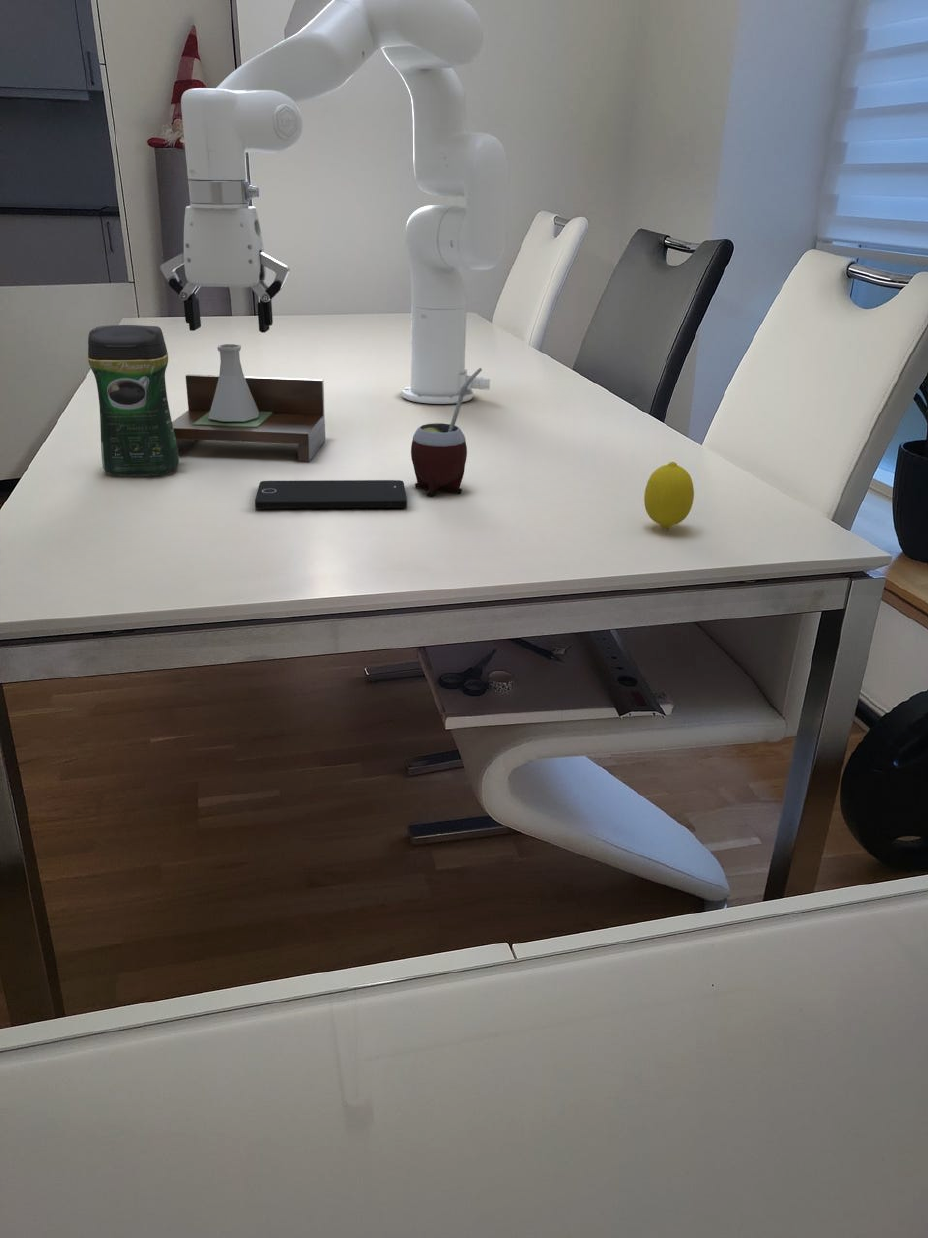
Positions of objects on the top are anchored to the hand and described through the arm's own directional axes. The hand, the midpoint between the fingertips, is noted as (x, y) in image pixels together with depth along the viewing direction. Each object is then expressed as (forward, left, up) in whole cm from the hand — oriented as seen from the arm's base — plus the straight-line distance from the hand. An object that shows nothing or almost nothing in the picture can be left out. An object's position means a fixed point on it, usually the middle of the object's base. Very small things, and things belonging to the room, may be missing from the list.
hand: (229, 329), depth 139 cm
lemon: (-58, +29, -17) cm, 67 cm away
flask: (0, 0, -12) cm, 12 cm away
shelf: (-2, +1, -16) cm, 16 cm away
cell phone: (-18, +23, -16) cm, 33 cm away
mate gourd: (-31, +17, -17) cm, 39 cm away
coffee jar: (+9, +14, -17) cm, 23 cm away
